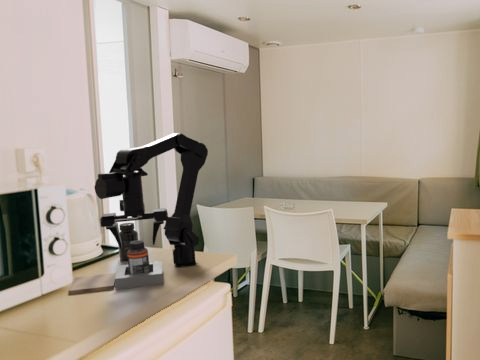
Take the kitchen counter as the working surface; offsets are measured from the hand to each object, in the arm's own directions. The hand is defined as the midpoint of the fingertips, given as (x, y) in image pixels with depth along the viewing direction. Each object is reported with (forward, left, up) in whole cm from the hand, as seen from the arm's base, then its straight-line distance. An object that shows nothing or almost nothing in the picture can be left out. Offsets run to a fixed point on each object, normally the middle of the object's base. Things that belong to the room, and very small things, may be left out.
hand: (137, 246), depth 138 cm
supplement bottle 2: (0, 0, -10) cm, 10 cm away
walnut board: (+13, 0, -10) cm, 16 cm away
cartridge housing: (0, 0, -10) cm, 10 cm away
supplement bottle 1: (+4, -25, -10) cm, 27 cm away
